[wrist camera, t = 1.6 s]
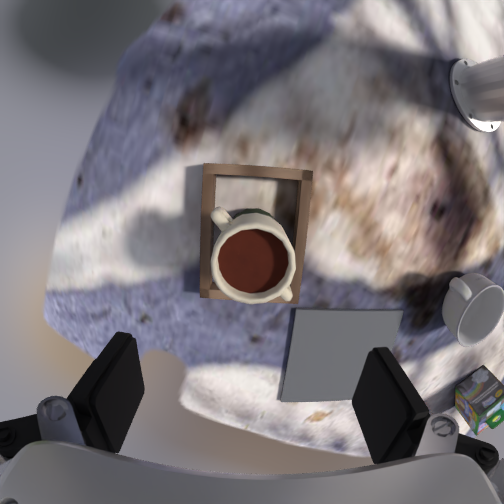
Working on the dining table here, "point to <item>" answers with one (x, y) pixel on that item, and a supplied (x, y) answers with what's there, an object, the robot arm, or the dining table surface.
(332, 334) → the rubber mat
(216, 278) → the character mug
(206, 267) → the collar
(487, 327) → the teacup
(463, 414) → the chalk box
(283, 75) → the dining table surface
